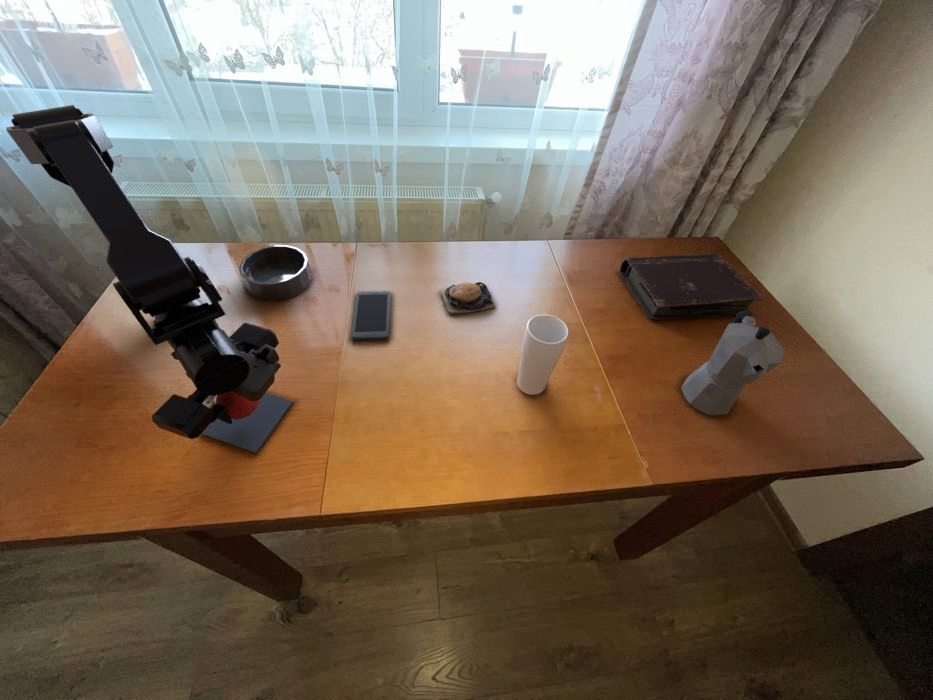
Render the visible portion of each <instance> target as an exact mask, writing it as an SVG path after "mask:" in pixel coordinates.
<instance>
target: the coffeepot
mask: <svg viewBox="0 0 933 700" xmlns="http://www.w3.org/2000/svg"><path fill="white" fill-rule="evenodd" d="M753 316H754V315H753V312H752V311H751V310H749V309H748V310H746V311H741V312H739V313H738V314H737V315H735V316H734V319H733V321H732V322H731V323H730V322H729V323H728V325H727V326H726V328H725V330H724V332H723V334H722V335H721V337H720V339H719V341H718V343H717V345H716V346H715V348H714V350H713V353H712V354H711V356H710V358H709V359H708V360H707V361H705V363H703V364H702V365H701V366H700V367H698V368H697V369H696V370H694V371H692V373H690V375H688V376H687V377H686V378H685V381H684V382H683V384H682V386H681V387H680V389H681V392H682V394H683V397H684V398H685V400H686V402H687V403H688V404H689V405H690V406H691V407H692V408H694V409H695V410H697V411H699V412H701V413H703V414H705V415H708V416H715V417H716V416H723V415H728V414H729V412H730V411H731V409H732V408H733V406H734V405H735V403H736V401H737V400H738V398H739V396H740V395H741V393H742V391H743V389H744V388H745V386H747V385H750V384H753V383H754V382H755V381H757V380H758V379H760V378H761V377H763V376H764V375H766V374H767V373H769V372H770V371H771V370H773V369H774V368H776V367H778V366H779V365H781V363H782V361H783V358H784V355H785V353H786V349H785V348H784V346H783V345H782V343H780V341H779V340H778V339H777V337H775V335H774V334H773V333H771V330H769V328H768V327H765V326H756V324H757V323H756V318H755V317H753Z"/></svg>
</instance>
